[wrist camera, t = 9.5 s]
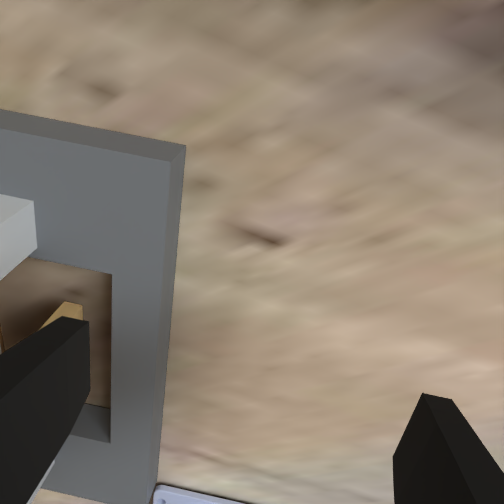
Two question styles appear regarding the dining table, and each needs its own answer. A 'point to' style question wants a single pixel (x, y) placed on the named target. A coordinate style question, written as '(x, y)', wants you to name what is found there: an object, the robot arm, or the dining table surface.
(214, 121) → the dining table surface
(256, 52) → the dining table surface
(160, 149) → the grey slotted base plate
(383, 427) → the dining table surface
